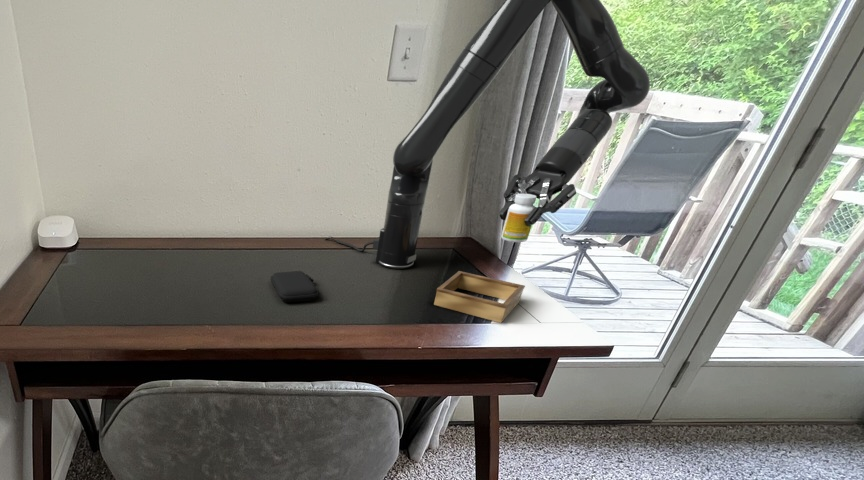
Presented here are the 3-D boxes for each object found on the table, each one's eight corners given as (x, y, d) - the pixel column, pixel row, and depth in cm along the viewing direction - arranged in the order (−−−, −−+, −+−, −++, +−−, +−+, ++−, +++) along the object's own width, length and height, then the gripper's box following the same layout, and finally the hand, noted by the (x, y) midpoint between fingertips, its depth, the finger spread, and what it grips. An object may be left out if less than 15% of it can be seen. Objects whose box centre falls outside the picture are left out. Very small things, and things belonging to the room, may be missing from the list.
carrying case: (324, 301, 114) (308, 278, 127) (325, 290, 113) (308, 267, 125) (281, 305, 113) (268, 281, 126) (281, 293, 112) (269, 270, 124)
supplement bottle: (530, 243, 106) (544, 198, 101) (504, 242, 107) (516, 198, 102) (522, 235, 111) (535, 192, 105) (497, 235, 112) (509, 192, 107)
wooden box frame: (433, 304, 111) (436, 288, 109) (455, 286, 119) (459, 270, 117) (501, 323, 102) (506, 306, 100) (519, 301, 111) (525, 285, 109)
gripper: (530, 141, 107) (480, 204, 109) (597, 149, 96) (541, 218, 98) (538, 164, 112) (490, 223, 114) (603, 173, 101) (549, 239, 103)
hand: (514, 220), depth 106 cm, fingers closed on supplement bottle, 5 cm apart
